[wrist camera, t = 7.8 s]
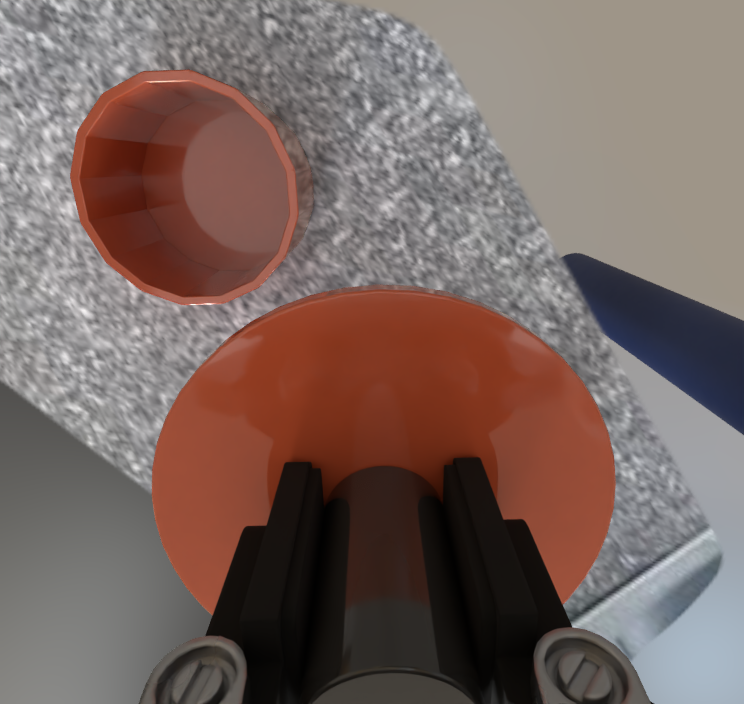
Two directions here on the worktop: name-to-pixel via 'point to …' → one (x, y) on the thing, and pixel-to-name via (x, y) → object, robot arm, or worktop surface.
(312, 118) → the worktop surface
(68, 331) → the worktop surface
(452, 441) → the lid
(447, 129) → the worktop surface
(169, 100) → the pot
